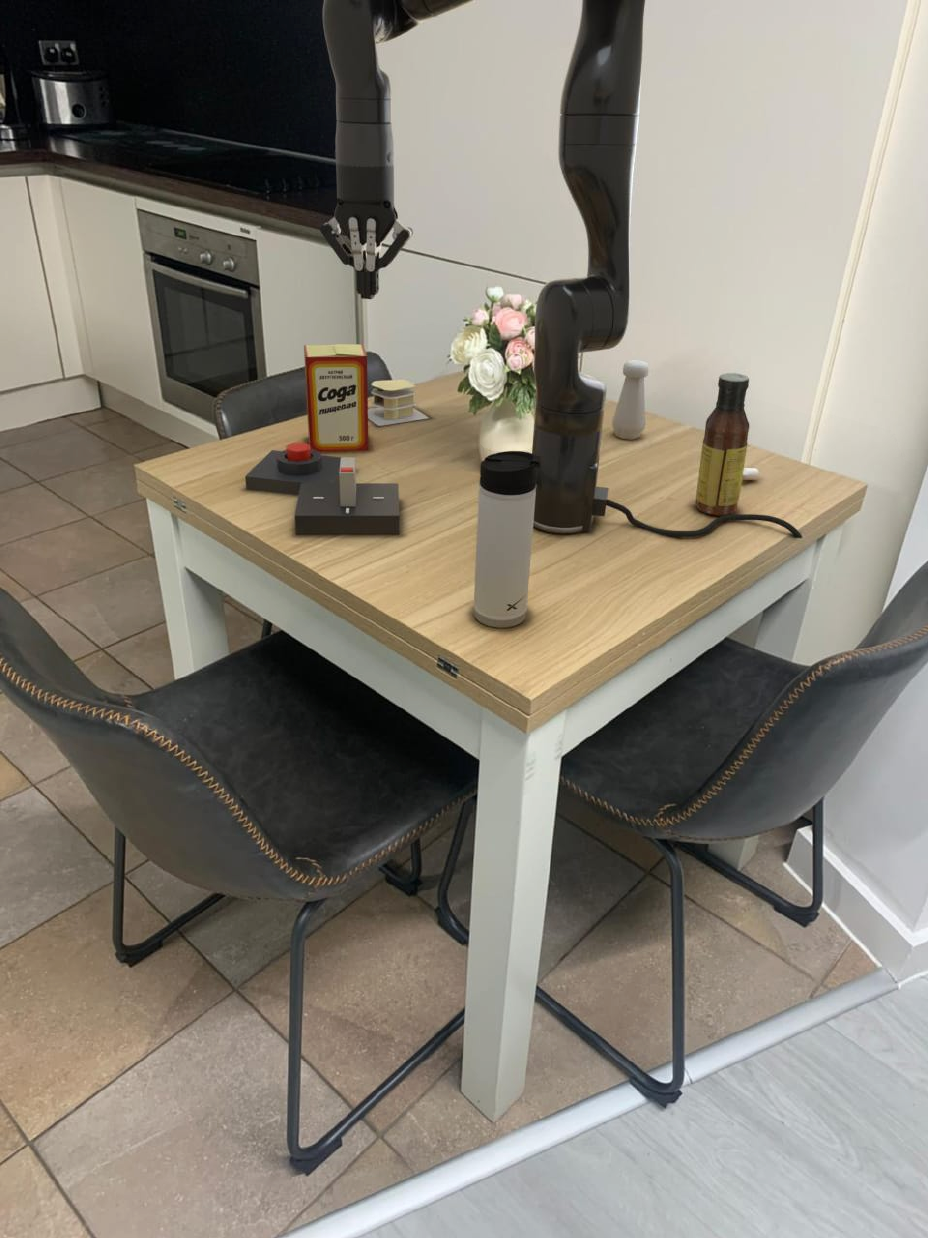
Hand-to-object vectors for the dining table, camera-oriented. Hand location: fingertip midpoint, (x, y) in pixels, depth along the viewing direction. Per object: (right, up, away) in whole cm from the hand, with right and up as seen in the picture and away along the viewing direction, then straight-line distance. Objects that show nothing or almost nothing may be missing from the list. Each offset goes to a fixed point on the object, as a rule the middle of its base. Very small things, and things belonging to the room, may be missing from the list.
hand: (367, 297), depth 132 cm
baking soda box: (-8, -16, +26) cm, 31 cm away
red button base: (-12, -24, +12) cm, 29 cm away
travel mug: (+18, -45, -20) cm, 52 cm away
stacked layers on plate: (+1, -8, +39) cm, 40 cm away
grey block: (-3, -28, 0) cm, 28 cm away
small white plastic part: (+58, -23, +18) cm, 65 cm away
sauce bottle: (+50, -29, +8) cm, 59 cm away
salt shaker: (+42, -13, +34) cm, 55 cm away
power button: (-11, -21, +10) cm, 26 cm away
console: (-3, -31, +1) cm, 31 cm away
